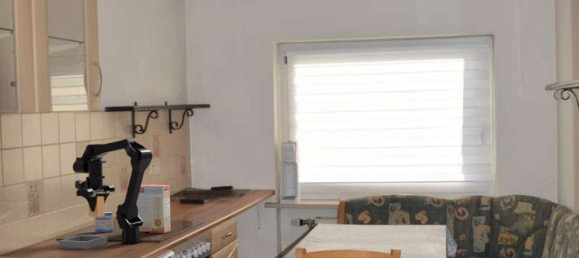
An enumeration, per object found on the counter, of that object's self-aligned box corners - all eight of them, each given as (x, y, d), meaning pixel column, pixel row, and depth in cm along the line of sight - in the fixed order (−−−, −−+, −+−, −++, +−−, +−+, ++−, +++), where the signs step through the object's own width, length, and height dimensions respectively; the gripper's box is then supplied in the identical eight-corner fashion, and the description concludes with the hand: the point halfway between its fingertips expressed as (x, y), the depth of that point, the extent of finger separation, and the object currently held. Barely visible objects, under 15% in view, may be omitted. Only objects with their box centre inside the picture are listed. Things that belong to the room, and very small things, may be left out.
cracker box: (171, 231, 314) (170, 184, 314) (164, 233, 309) (162, 185, 308) (144, 230, 320) (143, 183, 319) (136, 232, 314) (135, 185, 314)
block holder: (107, 243, 288) (107, 236, 288) (87, 249, 276) (86, 242, 276) (80, 242, 293) (80, 234, 293) (59, 248, 281) (59, 240, 281)
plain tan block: (104, 215, 299) (103, 196, 299) (97, 216, 295) (97, 197, 295) (95, 214, 301) (95, 196, 300) (88, 216, 296) (88, 197, 296)
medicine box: (94, 233, 315) (94, 213, 314) (94, 231, 319) (94, 212, 319) (113, 231, 317) (112, 212, 317) (112, 230, 321) (112, 211, 321)
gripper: (93, 171, 309) (94, 207, 309) (65, 175, 292) (66, 213, 292) (115, 172, 305) (116, 208, 305) (87, 176, 287) (88, 214, 288)
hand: (96, 211), depth 298 cm, fingers closed on plain tan block, 4 cm apart
